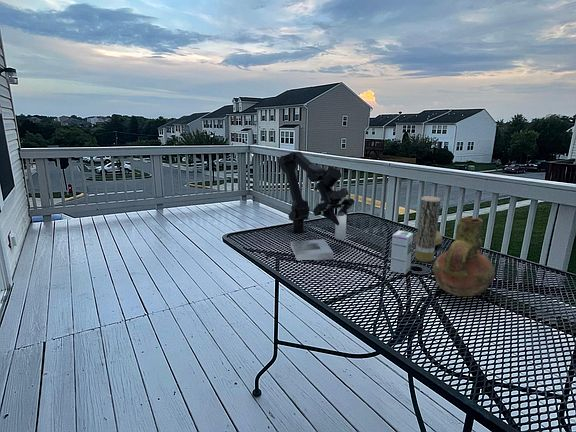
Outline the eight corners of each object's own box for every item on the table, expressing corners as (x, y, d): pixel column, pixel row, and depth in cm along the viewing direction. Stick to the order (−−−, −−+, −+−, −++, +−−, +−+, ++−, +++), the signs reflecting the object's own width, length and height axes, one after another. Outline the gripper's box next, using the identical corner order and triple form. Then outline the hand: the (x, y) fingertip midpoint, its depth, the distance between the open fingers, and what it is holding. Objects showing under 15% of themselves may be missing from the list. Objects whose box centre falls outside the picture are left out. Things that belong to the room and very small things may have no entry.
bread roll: (408, 247, 141) (410, 230, 139) (424, 239, 150) (426, 223, 148) (430, 254, 134) (432, 236, 132) (445, 244, 144) (448, 227, 141)
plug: (333, 236, 138) (334, 211, 135) (343, 235, 139) (344, 211, 136) (336, 239, 134) (337, 214, 131) (347, 239, 135) (348, 214, 132)
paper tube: (429, 255, 132) (437, 196, 125) (435, 262, 125) (443, 200, 118) (412, 255, 133) (418, 196, 125) (417, 262, 126) (424, 200, 119)
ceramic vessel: (496, 282, 110) (510, 212, 103) (482, 318, 90) (497, 233, 83) (443, 269, 120) (451, 204, 113) (420, 298, 101) (428, 221, 94)
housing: (290, 247, 142) (290, 241, 141) (323, 245, 144) (324, 239, 143) (296, 261, 128) (296, 254, 127) (333, 259, 130) (333, 252, 129)
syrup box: (405, 275, 116) (409, 237, 112) (389, 270, 119) (392, 233, 115) (410, 269, 120) (414, 232, 116) (394, 265, 124) (398, 229, 120)
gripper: (317, 184, 128) (334, 217, 123) (352, 179, 138) (370, 210, 132) (306, 199, 137) (321, 231, 131) (340, 194, 147) (355, 223, 141)
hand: (342, 223), depth 134 cm, fingers closed on plug, 4 cm apart
